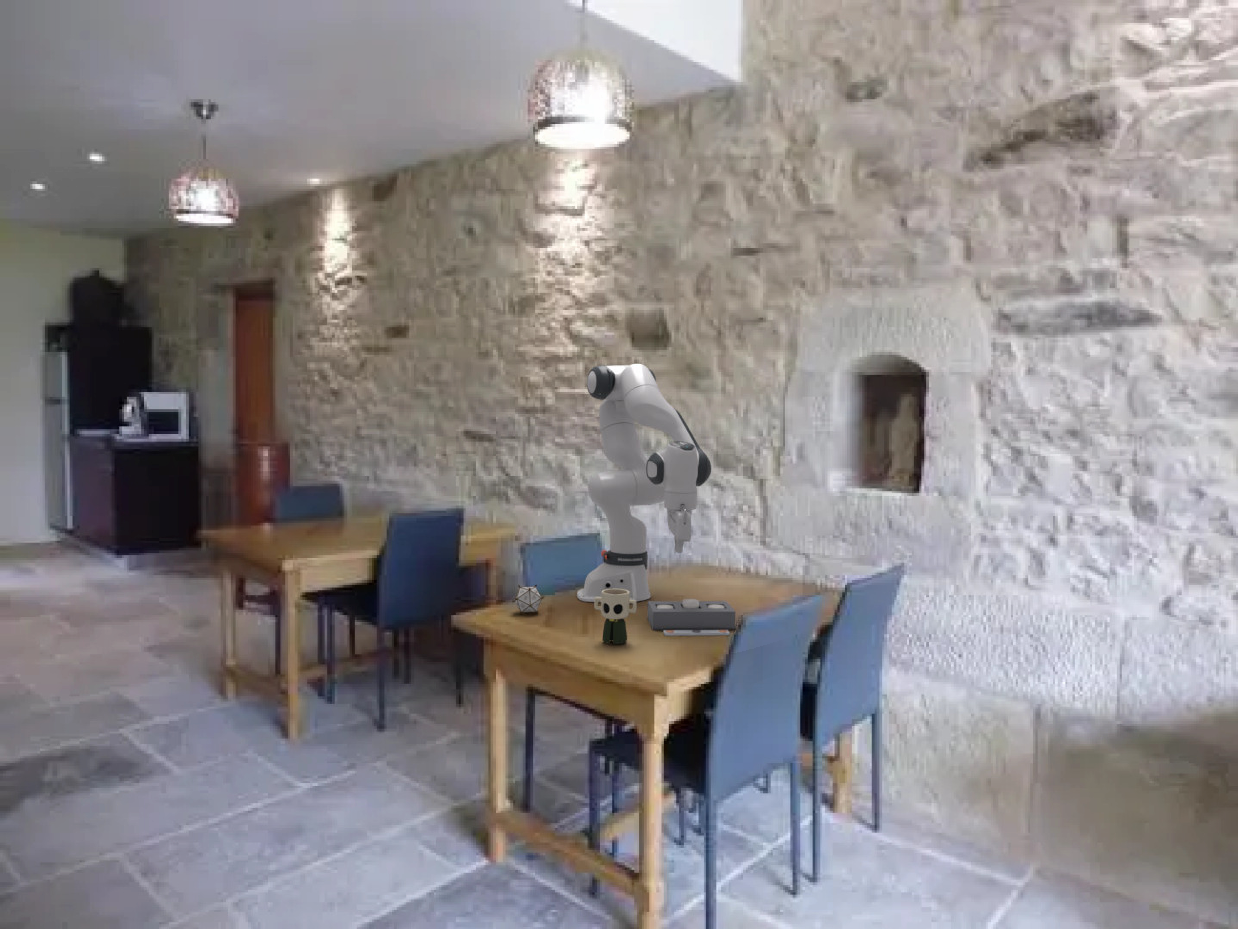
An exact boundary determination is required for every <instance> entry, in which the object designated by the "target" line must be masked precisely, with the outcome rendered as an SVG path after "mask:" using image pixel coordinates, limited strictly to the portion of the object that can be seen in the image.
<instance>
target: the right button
mask: <svg viewBox="0 0 1238 929" xmlns="http://www.w3.org/2000/svg"><path fill="white" fill-rule="evenodd" d="M708 608H724V606H723V605H709V606H708Z"/></svg>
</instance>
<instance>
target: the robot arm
mask: <svg viewBox="0 0 1238 929" xmlns="http://www.w3.org/2000/svg"><path fill="white" fill-rule="evenodd" d="M586 388H587V391H588V394H589V395H590V396H591V397H592V398H593V399H596V400H600V401H602V402H601V404H600V405H599V409H598V410H599V411H598V418H599V419H598V420H599V421H598V422H599V429H600V431H599V432H600V437H601V442H602V446H603V452H604V455H605V457H606V459H607V460H608V461H610V462H611V463H613V464H615V465H617V466H618V467H619V468H620V469H616V470H615V469H614V470H611V469H610V470H605V471H600V472H596V473H594V474H593V475H591V476H592V477H591V478H590V480H589V481H588V482H589V483H588V485H587V486H588V487H587V490H588V496H589V498H590V500H591V501H592V502H593V503H594V504H595V506H597V507H599V509H601V512H603V513H604V515H605V518H606V519H607V522H608V526H609V527H608V528H609V548H610V549H609V550H608V551H607V550H606V549H602V551H601V553H600V554H601V556H602V559H603V560H602V561H603V562H602V563H601V564H600V565H598V566H597V567H596V568H595V569H593V570H592V571H590V572H589V573H588V574H587V576H586V578H585V581H584V587H583V588H580V589H579V590H577V593H576V597H577V599H579V600H580V601H582V602H589V603H594V599H595V597H601V593H602V590H605V589H625V590H628V591H629V592H630V600H636V602H640V601H645V600H646V601H647V600H649V599H650V598H651V597H652V596H651V593H650V588H649V583H648V582H649V581H648V574H647V573H648V572H647V570H648V564H649V554H648V551H647V526H646V525H645V523H644V522H643V521H642V520H640V519H639V518H637V517H635V516H633V515H632V513H631V506H633V507H634V506H635V507H636V506H638V507H639V506H651V505H655V504H660V503H663V507H664V509H666V510H667V513H666V514H667V525H668V529H669V530H670V532H671V534H672V535H673V539H674V551H675V552H676V553H677V554H682V553H683V551H684V544H685V542H687V543H689V542H691V540H692V511H693V510H696V509H697V507H698V506H697V503H698V502H697V501H698V500H697V499H698V488H697V487H701V486H702V485H703V484H705V483H706V482H707V481H708V479H709V478H710V476H711V474H712V464H711V461H710V458H709V457H708V455H707V454H706V453H705V451H703V449H702V448H701V446H700V445H699V443H698V442H697V440H696V438H695V436H694V435H693V433H692V432H691V430H690V428H689V426H688V425H687V423H686V420H685V419H684V418H683V415H681V413H680V411H679V410H677V409H676V408H674V407H673V406H672V405H671V404H669V403H668V401H667V399H665V398H664V396H663V394H662V393H661V391H660V388H659V385H658V383H657V378H656V375H655V372H654V370H652V369H650V368H648V367H647V366H645V364H641V363H633V364H629V365H627V364H621V365H620V364H618V365H613V364H612V365H605V364H603V365H596V366H593V367H592V368H591V369H590V370H589V371H588V374H587V377H586ZM636 423H637V424H638V425H641V426H644V427H646V428H651V429H654V430H657V431H661V432H663V433H665V434H667V435H668V436H670V437H671V439H672V440H673V441H671V442H669V443H668V444H667V446H666V448H664V449H662V450H660V451H657V452H653V453H652V454H651V455H650V456H649V457H648V458H647V457H646V456H645V453H644V451H643V450H642V448H641V445H640V440H639V437H638V434H637V432H638V431H637V428H636ZM598 603H601V601H598Z"/></svg>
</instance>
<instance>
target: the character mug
mask: <svg viewBox="0 0 1238 929" xmlns="http://www.w3.org/2000/svg"><path fill="white" fill-rule="evenodd" d="M598 601H601V602H600V605H599V602H598ZM637 602H638V601H637ZM637 602H636V600H630V592H629V591H628V590H625V589H605V590H602V593H601V597H595V599H594V602H593V603H594V610H597V611H600V614H601V617H603V618H605V620H604V624H603V630H602V638H601V640H602V641H603V642H604V643H607V644H610V643H611V642H612V643H613V645H614V644H615V645H616V644H617V645H618V644H619V645H620V644H624V643H626V641H627V640H628V635H627V634H628V633H627V625H626V618H628V617H629V614H630V613H632V614H636V613H637V604H638V603H637ZM630 604H632V608H630Z"/></svg>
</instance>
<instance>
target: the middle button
mask: <svg viewBox="0 0 1238 929" xmlns="http://www.w3.org/2000/svg"><path fill="white" fill-rule="evenodd" d="M682 601H683V609H691V608H699V601H700V600H699V599H695V598H685V599H682Z"/></svg>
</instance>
